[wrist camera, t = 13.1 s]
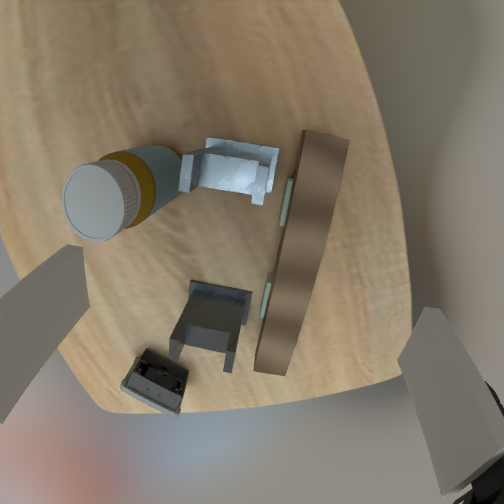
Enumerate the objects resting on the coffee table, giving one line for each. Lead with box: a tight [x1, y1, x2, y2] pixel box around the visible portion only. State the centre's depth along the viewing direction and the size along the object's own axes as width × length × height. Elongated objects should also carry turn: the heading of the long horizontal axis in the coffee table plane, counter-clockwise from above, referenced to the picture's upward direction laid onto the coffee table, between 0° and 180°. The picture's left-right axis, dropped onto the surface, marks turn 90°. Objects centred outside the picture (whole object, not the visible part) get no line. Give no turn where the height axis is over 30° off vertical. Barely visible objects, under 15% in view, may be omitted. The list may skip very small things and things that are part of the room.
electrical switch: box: [120, 349, 189, 417], centre depth 42 cm, size 9×5×9 cm, turn 60°
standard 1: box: [169, 280, 252, 373], centre depth 36 cm, size 5×8×11 cm, turn 81°
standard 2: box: [179, 137, 279, 205], centre depth 29 cm, size 5×8×11 cm, turn 81°
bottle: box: [61, 145, 182, 242], centre depth 28 cm, size 7×7×15 cm
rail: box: [254, 130, 349, 376], centre depth 33 cm, size 28×4×4 cm, turn 171°
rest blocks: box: [260, 177, 293, 318], centre depth 36 cm, size 17×5×2 cm, turn 171°
